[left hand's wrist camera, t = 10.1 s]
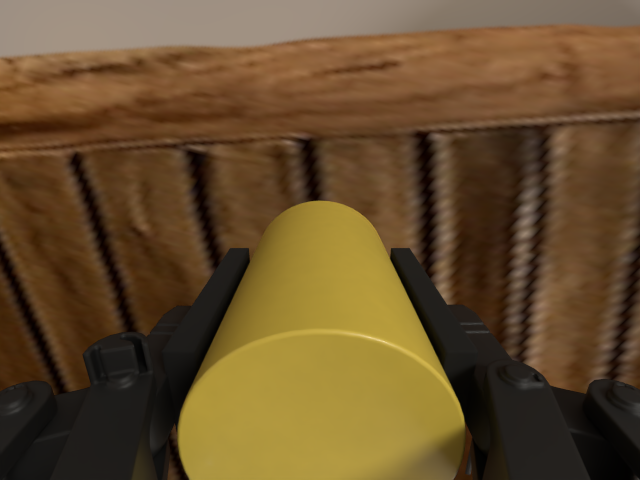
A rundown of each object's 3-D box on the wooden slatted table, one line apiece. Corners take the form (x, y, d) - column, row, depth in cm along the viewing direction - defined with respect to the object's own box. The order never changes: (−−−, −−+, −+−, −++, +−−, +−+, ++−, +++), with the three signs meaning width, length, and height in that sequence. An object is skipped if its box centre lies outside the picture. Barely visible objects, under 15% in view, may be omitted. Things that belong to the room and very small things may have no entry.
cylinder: (231, 254, 16) (113, 439, 7) (329, 172, 14) (346, 267, 6) (312, 337, 17) (305, 575, 8) (408, 269, 16) (521, 467, 7)
